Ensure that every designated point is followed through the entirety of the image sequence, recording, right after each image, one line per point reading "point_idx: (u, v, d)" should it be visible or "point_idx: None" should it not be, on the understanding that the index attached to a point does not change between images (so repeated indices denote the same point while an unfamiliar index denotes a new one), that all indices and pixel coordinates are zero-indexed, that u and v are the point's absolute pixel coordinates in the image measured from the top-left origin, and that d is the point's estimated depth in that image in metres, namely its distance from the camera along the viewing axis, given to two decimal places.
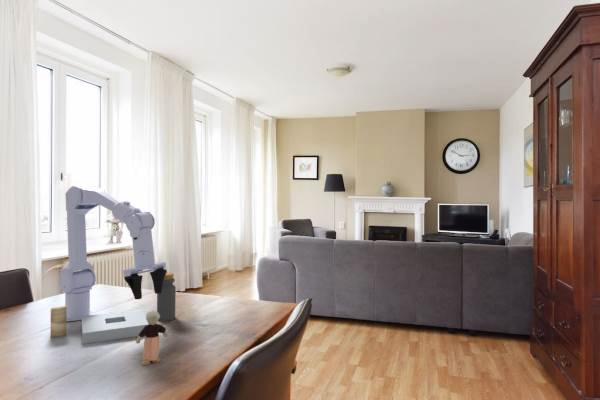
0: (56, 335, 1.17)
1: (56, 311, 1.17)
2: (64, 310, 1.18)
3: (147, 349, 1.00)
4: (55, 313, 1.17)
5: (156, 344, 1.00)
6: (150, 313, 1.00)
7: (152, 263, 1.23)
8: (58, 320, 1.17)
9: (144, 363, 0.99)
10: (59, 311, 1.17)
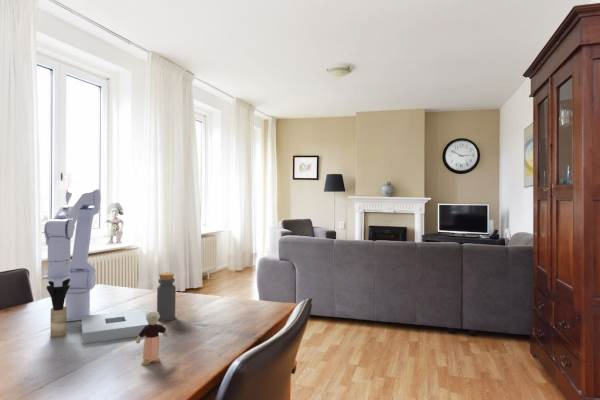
0: (56, 335, 1.17)
1: (56, 311, 1.17)
2: (64, 310, 1.18)
3: (147, 349, 1.00)
4: (55, 313, 1.17)
5: (156, 344, 1.00)
6: (150, 313, 1.00)
7: (47, 274, 1.17)
8: (58, 320, 1.17)
9: (144, 363, 0.99)
10: (59, 311, 1.17)
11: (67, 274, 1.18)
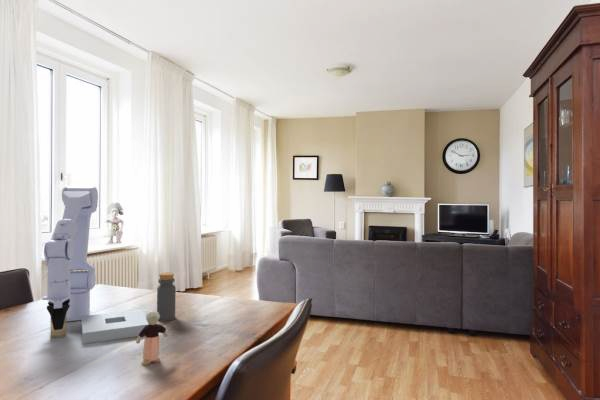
0: (56, 335, 1.17)
1: None
2: None
3: (147, 349, 1.00)
4: None
5: (156, 344, 1.00)
6: (150, 313, 1.00)
7: (47, 295, 1.17)
8: None
9: (144, 363, 0.99)
10: None
11: (67, 294, 1.18)
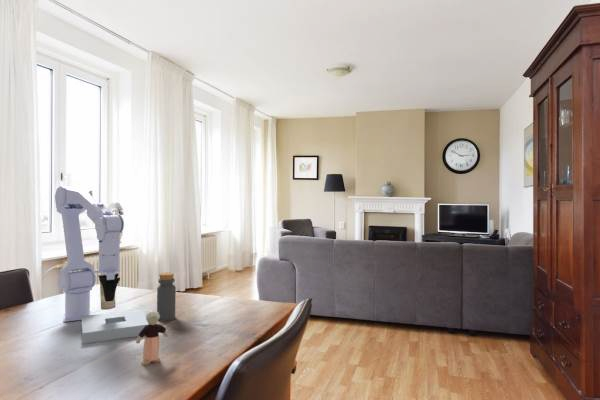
0: (106, 307, 1.21)
1: None
2: None
3: (147, 349, 1.00)
4: None
5: (156, 344, 1.00)
6: (150, 313, 1.00)
7: None
8: None
9: (144, 363, 0.99)
10: None
11: (117, 268, 1.23)
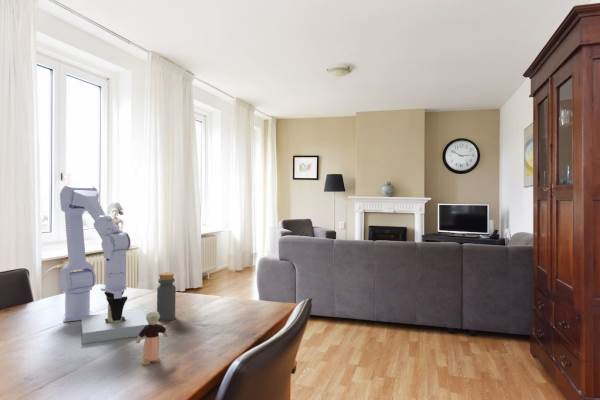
0: None
1: None
2: None
3: (147, 349, 1.00)
4: None
5: (156, 344, 1.00)
6: (150, 313, 1.00)
7: (105, 286, 1.22)
8: None
9: (144, 363, 0.99)
10: None
11: (124, 286, 1.24)
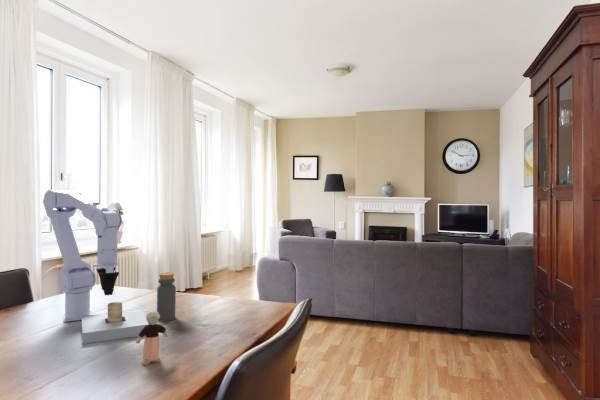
0: None
1: (113, 306, 1.22)
2: (120, 306, 1.24)
3: (147, 349, 1.00)
4: (112, 309, 1.22)
5: (156, 344, 1.00)
6: (150, 313, 1.00)
7: (97, 262, 1.27)
8: (115, 315, 1.22)
9: (144, 363, 0.99)
10: (116, 306, 1.23)
11: (115, 262, 1.28)
